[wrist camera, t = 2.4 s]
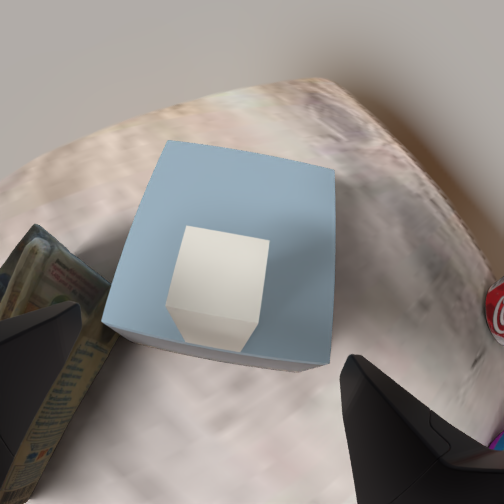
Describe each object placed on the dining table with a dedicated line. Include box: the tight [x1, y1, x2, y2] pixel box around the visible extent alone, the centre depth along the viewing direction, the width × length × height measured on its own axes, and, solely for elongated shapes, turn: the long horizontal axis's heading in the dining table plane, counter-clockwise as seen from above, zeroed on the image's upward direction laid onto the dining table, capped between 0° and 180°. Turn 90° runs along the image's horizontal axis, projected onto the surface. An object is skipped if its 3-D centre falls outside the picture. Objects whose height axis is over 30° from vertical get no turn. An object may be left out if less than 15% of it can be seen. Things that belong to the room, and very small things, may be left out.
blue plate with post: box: [101, 140, 336, 365], centre depth 14 cm, size 12×11×7 cm
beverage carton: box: [0, 224, 120, 504], centre depth 13 cm, size 8×19×7 cm, turn 152°
